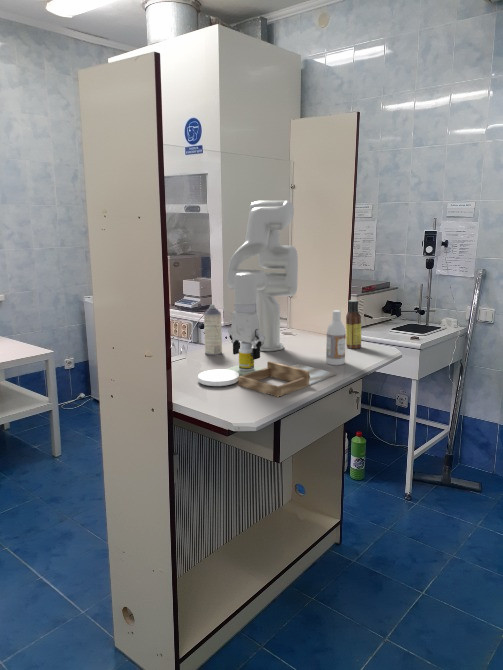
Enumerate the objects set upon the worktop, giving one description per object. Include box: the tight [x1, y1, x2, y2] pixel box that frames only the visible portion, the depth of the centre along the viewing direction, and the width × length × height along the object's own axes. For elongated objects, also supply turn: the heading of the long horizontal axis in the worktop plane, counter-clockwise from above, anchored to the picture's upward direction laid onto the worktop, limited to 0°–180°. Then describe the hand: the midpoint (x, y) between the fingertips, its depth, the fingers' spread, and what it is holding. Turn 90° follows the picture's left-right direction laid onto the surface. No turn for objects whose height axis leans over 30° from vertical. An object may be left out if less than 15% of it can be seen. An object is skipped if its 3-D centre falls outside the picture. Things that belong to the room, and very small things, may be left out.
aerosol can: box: [203, 304, 223, 357], centre depth 216 cm, size 7×7×20 cm
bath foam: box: [325, 309, 346, 366], centre depth 200 cm, size 7×7×20 cm
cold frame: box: [238, 360, 337, 398], centre depth 183 cm, size 17×31×5 cm, turn 136°
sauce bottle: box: [345, 299, 362, 350], centre depth 223 cm, size 6×6×20 cm
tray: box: [226, 364, 265, 376], centre depth 191 cm, size 12×10×2 cm
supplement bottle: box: [238, 341, 255, 371], centre depth 190 cm, size 5×5×10 cm
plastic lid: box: [197, 368, 239, 387], centre depth 183 cm, size 14×14×2 cm
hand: (246, 356), depth 190 cm, fingers open, 9 cm apart
